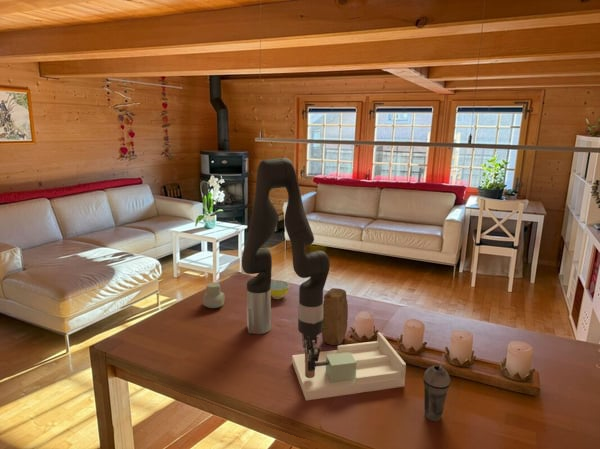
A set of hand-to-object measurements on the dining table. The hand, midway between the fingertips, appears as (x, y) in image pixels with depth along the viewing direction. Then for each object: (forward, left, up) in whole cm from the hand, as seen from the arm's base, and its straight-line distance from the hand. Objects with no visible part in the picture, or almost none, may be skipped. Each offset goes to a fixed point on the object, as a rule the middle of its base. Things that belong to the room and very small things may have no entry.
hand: (310, 366), depth 130 cm
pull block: (+6, 0, -5) cm, 8 cm away
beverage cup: (+31, -19, -8) cm, 38 cm away
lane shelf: (+13, +5, -8) cm, 16 cm away
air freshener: (-28, +66, -8) cm, 72 cm away
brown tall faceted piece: (+16, +27, -8) cm, 32 cm away
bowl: (+1, +69, -8) cm, 69 cm away
